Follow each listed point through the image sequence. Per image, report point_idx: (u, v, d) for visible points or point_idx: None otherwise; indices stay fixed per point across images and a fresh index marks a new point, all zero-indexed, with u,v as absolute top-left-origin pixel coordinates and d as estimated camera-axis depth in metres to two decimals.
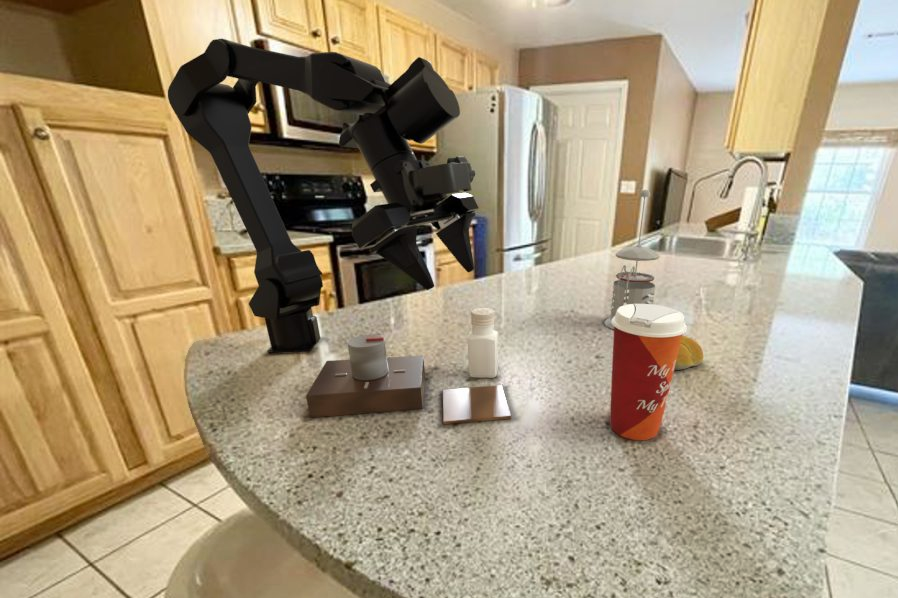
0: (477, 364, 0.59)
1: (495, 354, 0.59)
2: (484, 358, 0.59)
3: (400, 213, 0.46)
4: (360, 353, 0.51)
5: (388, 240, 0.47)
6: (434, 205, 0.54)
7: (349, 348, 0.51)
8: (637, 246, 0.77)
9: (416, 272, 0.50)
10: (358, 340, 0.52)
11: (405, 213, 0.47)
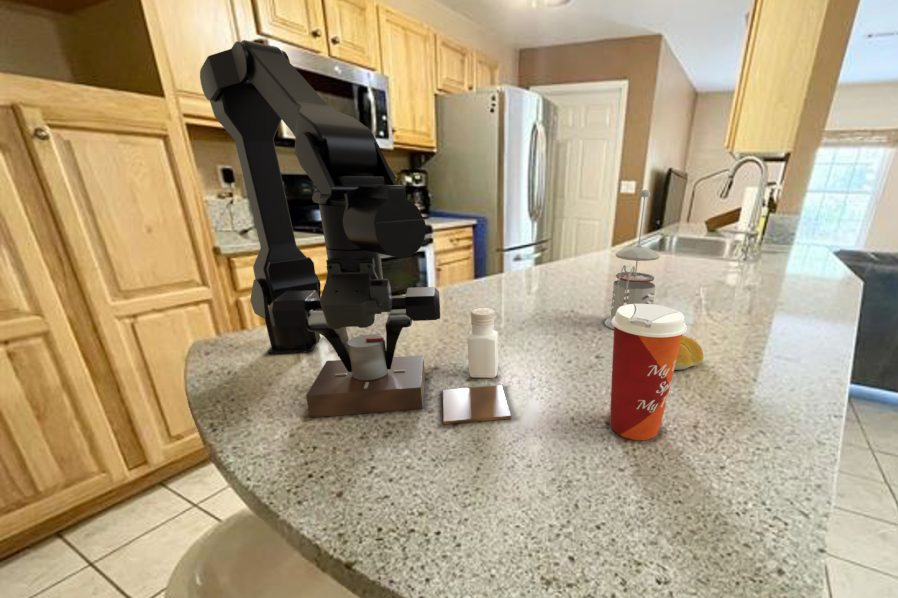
0: (477, 364, 0.59)
1: (495, 354, 0.59)
2: (484, 358, 0.59)
3: (292, 316, 0.47)
4: (360, 353, 0.51)
5: None
6: None
7: (349, 348, 0.51)
8: (637, 246, 0.77)
9: None
10: (358, 340, 0.52)
11: (299, 317, 0.47)
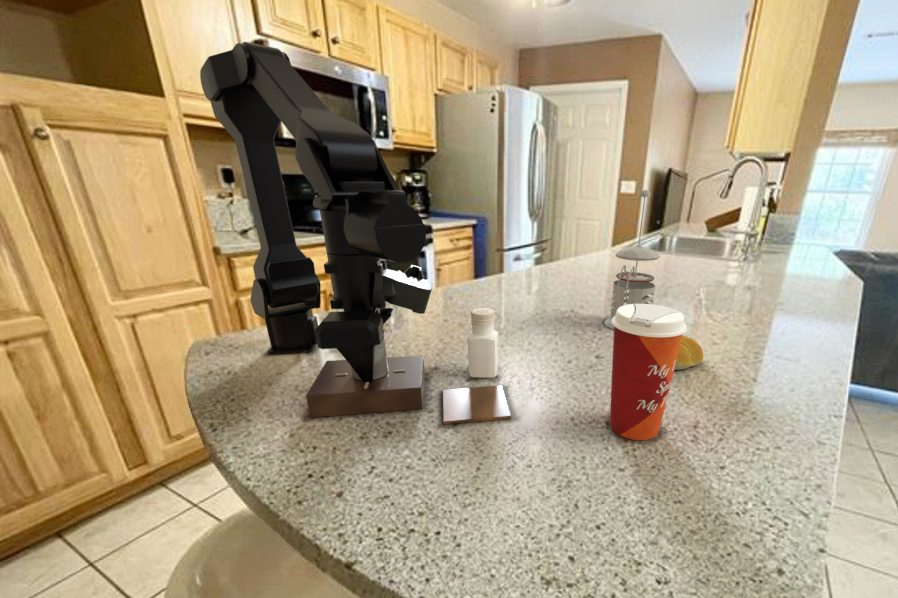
0: (477, 364, 0.59)
1: (495, 354, 0.59)
2: (484, 358, 0.59)
3: (381, 328, 0.45)
4: (384, 346, 0.53)
5: None
6: None
7: None
8: (637, 246, 0.77)
9: (363, 367, 0.50)
10: None
11: (382, 326, 0.46)
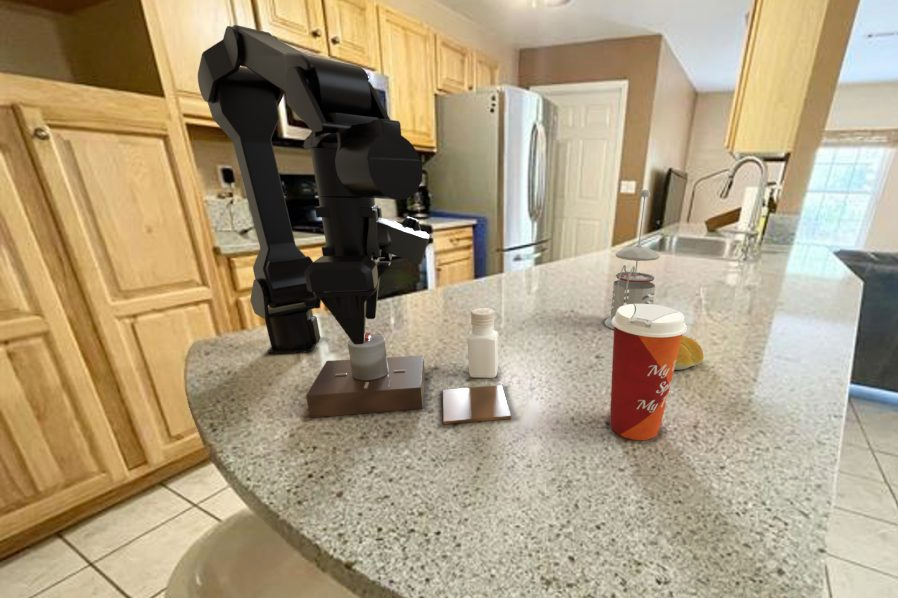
0: (477, 364, 0.59)
1: (495, 354, 0.59)
2: (484, 358, 0.59)
3: (375, 273, 0.43)
4: (384, 346, 0.53)
5: (352, 295, 0.42)
6: None
7: (374, 349, 0.51)
8: (637, 246, 0.77)
9: (353, 326, 0.46)
10: (364, 343, 0.52)
11: (376, 272, 0.44)
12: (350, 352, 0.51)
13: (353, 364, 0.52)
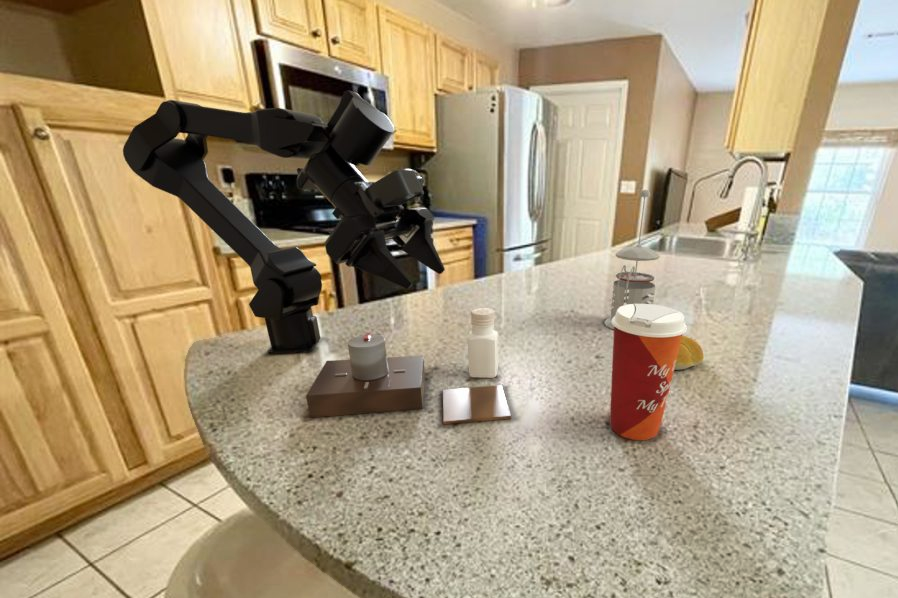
0: (477, 364, 0.59)
1: (495, 354, 0.59)
2: (484, 358, 0.59)
3: (366, 220, 0.50)
4: (384, 346, 0.53)
5: (361, 247, 0.50)
6: (394, 218, 0.59)
7: (374, 349, 0.51)
8: (637, 246, 0.77)
9: (393, 274, 0.53)
10: (364, 343, 0.52)
11: (370, 220, 0.51)
12: (350, 352, 0.51)
13: (353, 364, 0.52)
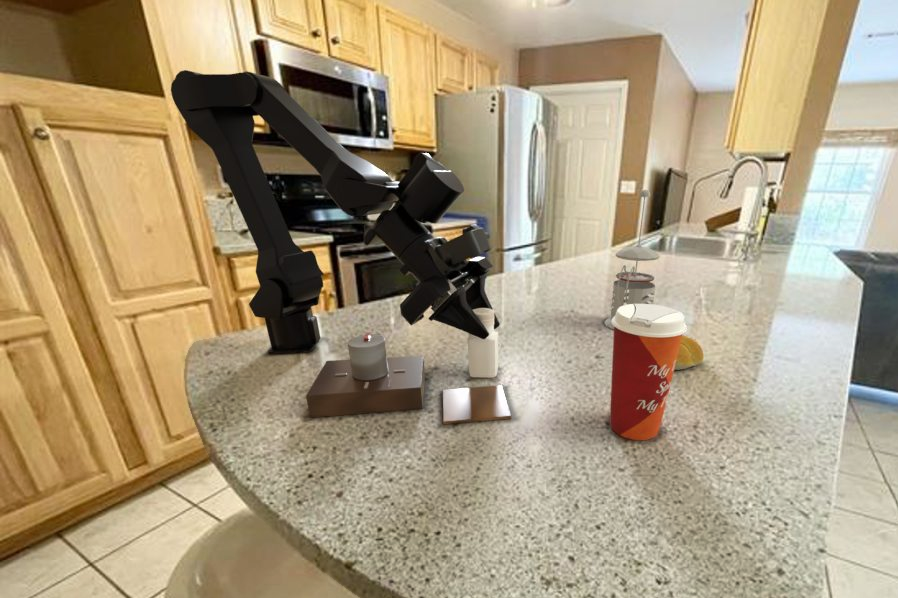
0: (477, 364, 0.59)
1: (495, 354, 0.59)
2: (484, 358, 0.59)
3: (442, 283, 0.51)
4: (384, 346, 0.53)
5: (445, 304, 0.53)
6: (458, 272, 0.59)
7: (374, 349, 0.51)
8: (637, 246, 0.77)
9: (472, 326, 0.56)
10: (364, 343, 0.52)
11: (445, 282, 0.51)
12: (350, 352, 0.51)
13: (353, 364, 0.52)
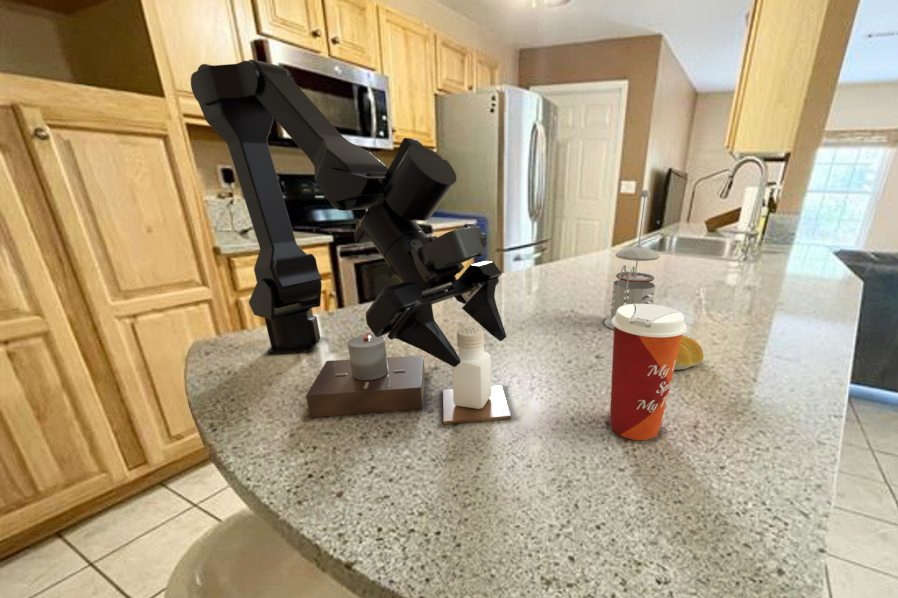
0: (461, 392, 0.51)
1: (481, 382, 0.50)
2: (469, 386, 0.50)
3: (411, 291, 0.43)
4: (384, 346, 0.53)
5: (402, 321, 0.43)
6: (452, 278, 0.51)
7: (374, 349, 0.51)
8: (637, 246, 0.77)
9: (439, 350, 0.45)
10: (364, 343, 0.52)
11: (416, 290, 0.43)
12: (350, 352, 0.51)
13: (353, 364, 0.52)
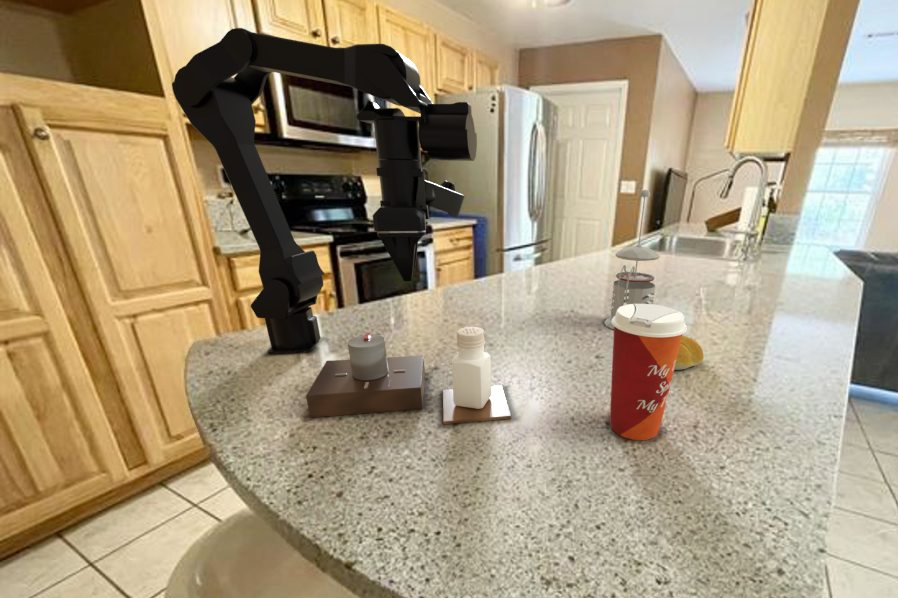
0: (461, 392, 0.51)
1: (481, 382, 0.50)
2: (469, 386, 0.50)
3: (425, 219, 0.54)
4: (384, 346, 0.53)
5: (407, 236, 0.53)
6: None
7: (374, 349, 0.51)
8: (637, 246, 0.77)
9: (405, 265, 0.57)
10: (364, 343, 0.52)
11: (425, 219, 0.55)
12: (350, 352, 0.51)
13: (353, 364, 0.52)
